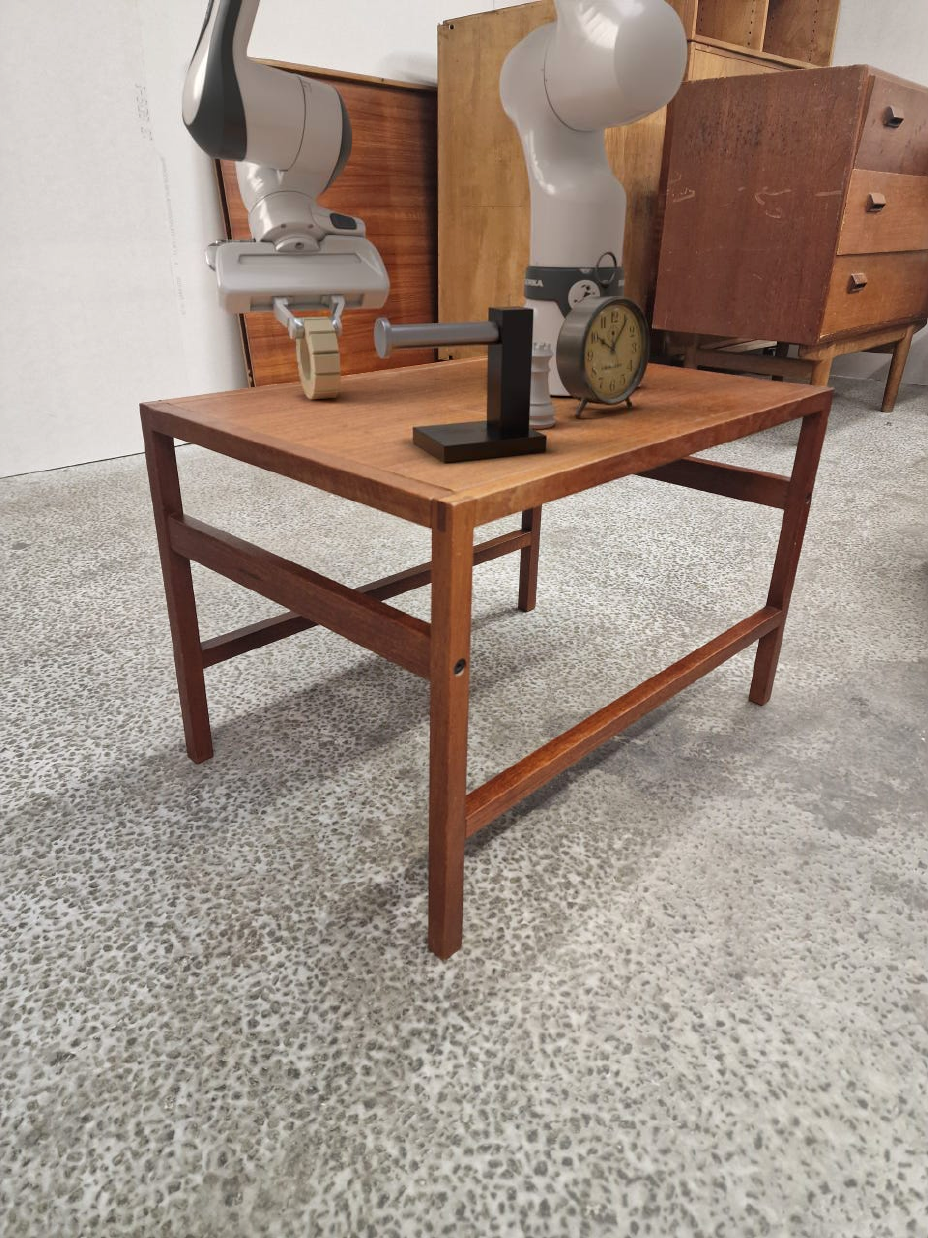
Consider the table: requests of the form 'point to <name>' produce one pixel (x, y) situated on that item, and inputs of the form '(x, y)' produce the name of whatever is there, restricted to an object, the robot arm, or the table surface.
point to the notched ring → (319, 358)
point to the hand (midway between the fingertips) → (317, 334)
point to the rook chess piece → (541, 388)
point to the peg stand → (505, 383)
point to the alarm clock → (603, 347)
